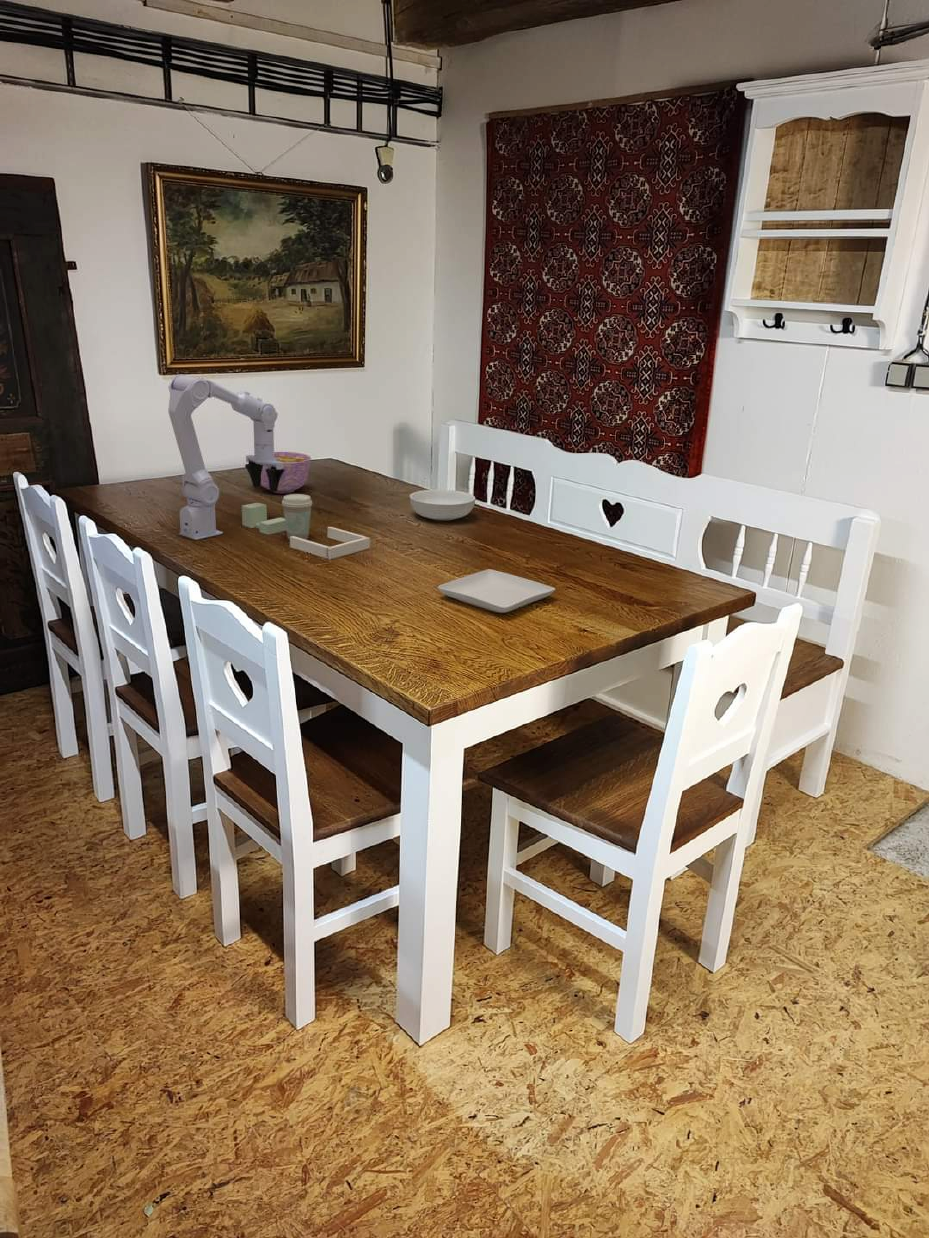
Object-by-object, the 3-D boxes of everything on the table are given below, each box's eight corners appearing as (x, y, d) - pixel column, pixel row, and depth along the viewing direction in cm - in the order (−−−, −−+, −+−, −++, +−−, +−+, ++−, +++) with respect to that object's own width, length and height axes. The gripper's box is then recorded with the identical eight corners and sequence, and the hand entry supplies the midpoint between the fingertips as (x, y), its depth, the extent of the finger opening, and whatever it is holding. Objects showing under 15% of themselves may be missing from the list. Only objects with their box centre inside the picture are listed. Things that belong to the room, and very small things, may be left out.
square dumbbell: (268, 534, 262) (267, 514, 260) (239, 526, 269) (238, 506, 267) (289, 529, 268) (288, 509, 266) (261, 521, 275) (260, 502, 273)
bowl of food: (250, 484, 319) (248, 452, 315) (307, 483, 325) (306, 451, 320) (255, 498, 301) (254, 463, 297) (315, 496, 307) (315, 462, 303)
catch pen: (329, 559, 242) (329, 548, 241) (290, 547, 251) (289, 536, 250) (369, 548, 254) (370, 537, 253) (330, 536, 263) (330, 526, 262)
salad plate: (488, 579, 234) (489, 566, 233) (556, 600, 222) (557, 586, 220) (434, 598, 218) (434, 585, 217) (504, 622, 206) (505, 608, 205)
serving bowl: (477, 511, 298) (478, 491, 296) (471, 528, 279) (472, 506, 276) (414, 507, 300) (414, 486, 297) (404, 523, 280) (404, 501, 278)
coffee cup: (276, 538, 258) (275, 497, 254) (295, 532, 266) (294, 492, 261) (300, 543, 255) (299, 502, 251) (318, 537, 262) (318, 496, 258)
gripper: (290, 446, 266) (291, 491, 271) (258, 439, 274) (259, 483, 279) (272, 448, 261) (273, 495, 266) (239, 441, 269) (241, 486, 274)
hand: (265, 489), depth 272 cm, fingers open, 7 cm apart
